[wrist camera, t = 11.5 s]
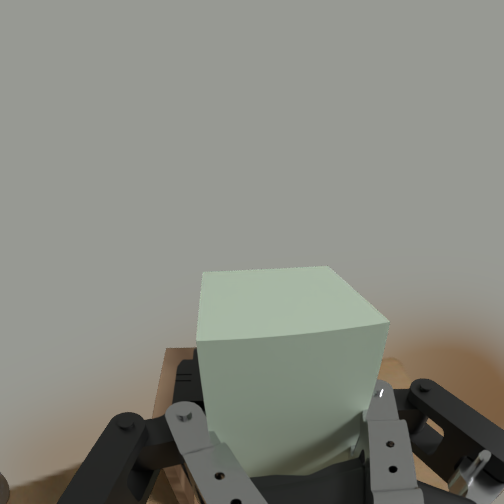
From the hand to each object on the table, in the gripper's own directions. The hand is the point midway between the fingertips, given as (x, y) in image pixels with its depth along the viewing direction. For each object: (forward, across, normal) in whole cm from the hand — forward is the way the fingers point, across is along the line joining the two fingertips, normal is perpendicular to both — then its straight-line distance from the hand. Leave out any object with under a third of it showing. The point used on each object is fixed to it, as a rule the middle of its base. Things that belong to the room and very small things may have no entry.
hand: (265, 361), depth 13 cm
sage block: (-3, 0, +6) cm, 7 cm away
